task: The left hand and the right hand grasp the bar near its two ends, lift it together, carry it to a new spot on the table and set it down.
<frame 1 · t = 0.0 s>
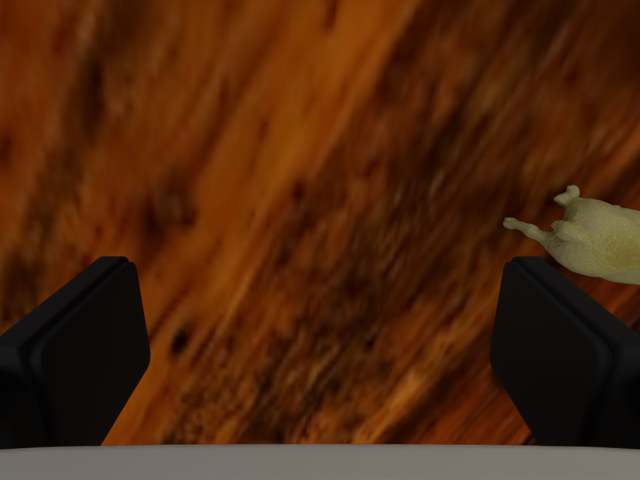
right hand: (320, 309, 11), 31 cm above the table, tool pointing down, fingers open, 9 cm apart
toy: (587, 224, 43), on the table
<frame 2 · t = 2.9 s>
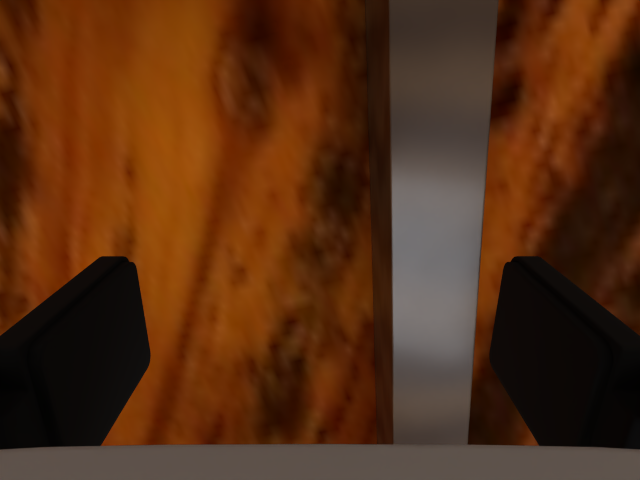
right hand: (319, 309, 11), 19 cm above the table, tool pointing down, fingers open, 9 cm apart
bar: (403, 344, 34), on the table
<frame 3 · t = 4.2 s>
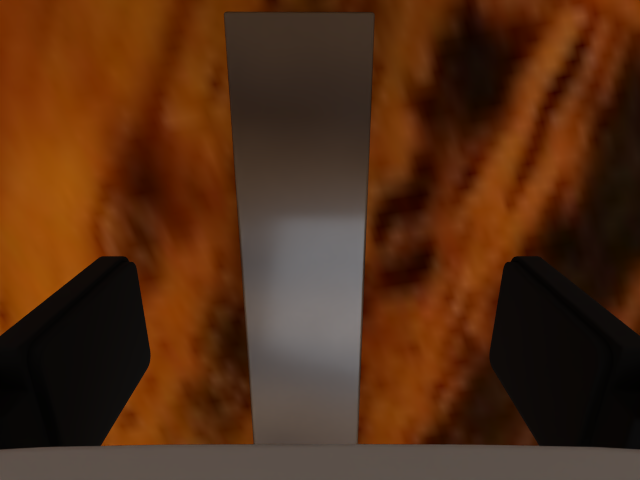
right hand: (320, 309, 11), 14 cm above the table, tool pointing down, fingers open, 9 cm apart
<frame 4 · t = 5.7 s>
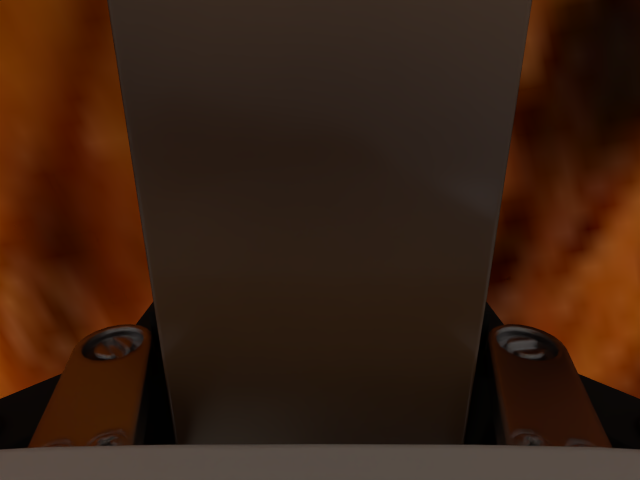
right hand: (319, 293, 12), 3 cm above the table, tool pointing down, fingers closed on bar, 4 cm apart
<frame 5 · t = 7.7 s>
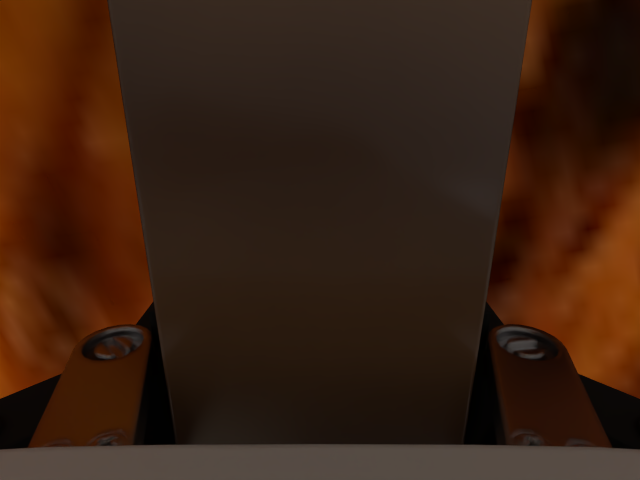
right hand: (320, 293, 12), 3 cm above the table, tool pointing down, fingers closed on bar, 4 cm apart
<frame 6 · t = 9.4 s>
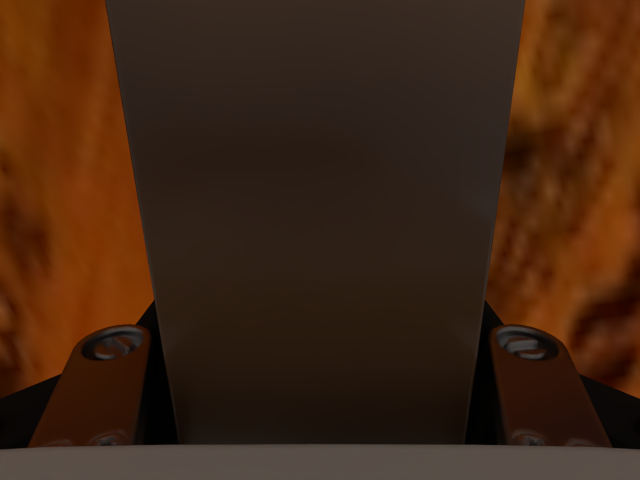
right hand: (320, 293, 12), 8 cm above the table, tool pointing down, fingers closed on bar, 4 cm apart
when the left hand's fingers open (2 cm above the table, at t = 11.4 s): bar drops 1 cm, on the table.
when the right hand's fingers open (4 cm above the table, at t = 11.5 s): bar stays where it is, on the table.
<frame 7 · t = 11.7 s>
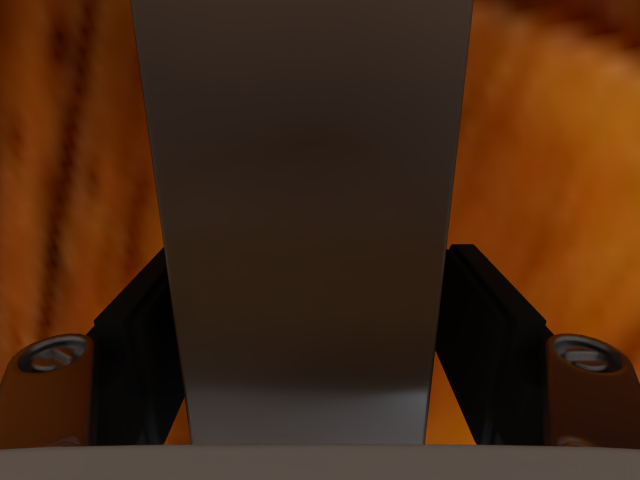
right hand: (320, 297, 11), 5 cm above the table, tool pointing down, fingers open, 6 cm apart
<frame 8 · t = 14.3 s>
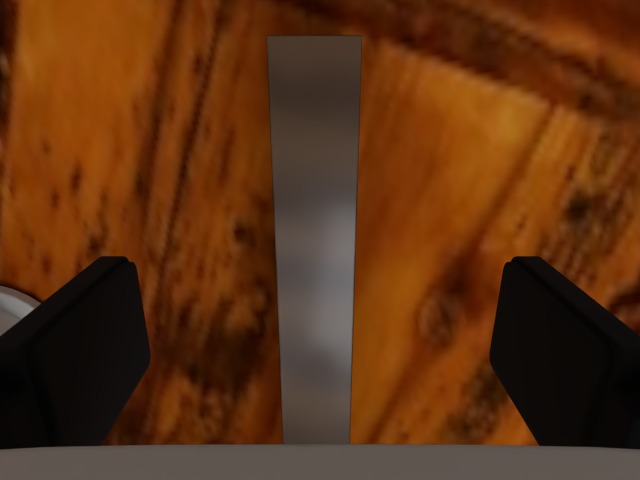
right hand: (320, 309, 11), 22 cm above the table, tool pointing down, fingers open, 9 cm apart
bar: (317, 409, 39), on the table
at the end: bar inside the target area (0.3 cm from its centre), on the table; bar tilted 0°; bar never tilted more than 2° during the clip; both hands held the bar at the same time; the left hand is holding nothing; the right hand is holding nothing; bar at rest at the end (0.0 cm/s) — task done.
